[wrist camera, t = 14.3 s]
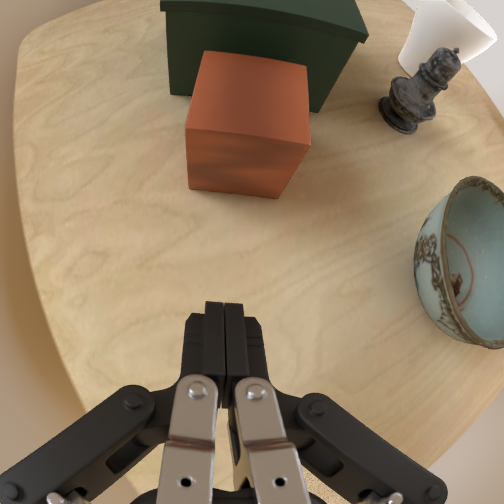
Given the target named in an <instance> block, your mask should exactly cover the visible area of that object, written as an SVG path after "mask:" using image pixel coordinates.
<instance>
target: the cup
mask: <svg viewBox="0 0 504 504" xmlns="http://www.w3.org/2000/svg"><path fill="white" fill-rule="evenodd" d="M496 41H497V36H496V34H495V32H494V30H493V29H492V28H491V26H490V25H489V24H488V23H487V22H486V21H485V20H484V19H483V18H482V16H481V15H480V14H479V13H478V12H477V11H475V10H474V9H473V8H472V7H471V6H470V5H469V4H468V3H466V2H465V1H464V0H420V2H419V5H418V7H417V10H416V12H415V15H414V19H413V23H412V26H411V30H410V33H409V35H408V38H407V41H406V43H405V45H404V47H403V49H402V51H401V52H400V54H399V56H398V61H399V63H400V65H401V67H402V68H403V69H404V70H405V72H406V73H407V74H409V75H410V76H411V77H413V76H414V75H415V74H416V72H417V71H418V70H419V64H420V63H426V62H427V60H428V59H429V58H430V57H431V56H432V54H433V53H434V52H435V51H436V50H437V49H438V48H440V47H444V48H448V49H450V50H454V48H459V53H457V56H458V58H459V60H460V62H461V64H462V63H464V62H466V61H468V60H470V59H472V58H473V57H475V56H477V55H478V54H480V53H481V52H483V51H485V50H486V49H487V48H489V47H490V46H491V45H492V44H493V43H494V42H496Z"/></svg>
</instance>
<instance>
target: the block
mask: <svg viewBox="0 0 504 504" xmlns="http://www.w3.org/2000/svg"><path fill="white" fill-rule="evenodd" d="M185 141H186V158H187V172H188V186H189V189H196V190H206V191H216V192H225V193H234V194H243V195H251V196H259V197H267V198H275V199H278V198H279V196H280V195H281V193H282V191H283V190H284V188H285V187H286V185H287V183H288V182H289V180H290V178H291V177H292V175H293V174H294V172H295V170H296V169H297V167H298V165H299V164H300V162H301V161H302V159H303V157H304V156H305V154H306V152H307V151H308V149H309V148H310V146H311V136H310V113H309V95H308V80H307V67H306V66H304V65H299V64H295V63H290V62H285V61H280V60H274V59H269V58H263V57H256V56H250V55H242V54H234V53H226V52H216V51H204V54H203V57H202V61H201V64H200V68H199V72H198V76H197V79H196V83H195V87H194V91H193V95H192V99H191V104H190V108H189V112H188V116H187V121H186V125H185Z"/></svg>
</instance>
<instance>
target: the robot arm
mask: <svg viewBox="0 0 504 504" xmlns="http://www.w3.org/2000/svg"><path fill="white" fill-rule="evenodd" d="M221 401H222V408H224V409H228V423H227V429H228V436H229V443H230V450H231V456H232V463H233V482H234V489H235V491H233V492H229V491H224V490H220V489H215V488H213V475H214V457H215V430H216V418H217V411H218V408H220V405H221ZM161 443H165V445H164V450H163V457H162V463H161V470H160V477H159V485H158V488H157V489H153V490H150V491H148V492H146V493H144V494H142V495H140V496H139V497H137V498H136V499H135V500H134V501H132V502H131V503H130V504H327V503H326V502H325V501H323V500H322V499H321V498H319V497H318V496H316V495H314V494H312V493H310V492H308V489H307V485H306V482H305V478H304V474H303V470H302V467H301V465H303V466H304V467H305V468H306V469H307V470H309V471H310V472H311V473H312V474H313V475H315V476H316V477H317V478H318V479H320V480H321V481H322V482H323V483H325V484H326V485H327V486H329V487H330V488H331V489H332V490H334V491H335V492H336V493H338V494H339V495H340V496H342V497H343V498H344V499H346V500H347V501H348V502H350V503H351V504H444V503H445V501H446V499H447V495H448V491H447V486H446V484H445V483H444V482H443V481H442V480H441V479H440V478H438V477H437V476H435V475H434V474H432V473H431V472H429V471H428V470H426V469H425V468H423V467H422V466H421V465H419V464H418V463H416V462H415V461H413V460H412V459H410V458H409V457H408V456H406V455H405V454H403V453H402V452H400V451H399V450H398V449H396V448H395V447H394V446H392V445H391V444H389V443H388V442H387V441H385V440H384V439H383V438H381V437H380V436H378V435H377V434H376V433H374V432H373V431H372V430H370V429H369V428H368V427H366V426H365V425H364V424H362V423H361V422H360V421H358V420H357V419H356V418H355V417H353V416H352V415H351V414H349V413H348V412H347V411H345V410H344V409H343V408H342V407H340V406H339V405H338V404H337V403H335V402H334V401H333V400H332V399H330V398H329V397H327V396H326V395H324V394H320V393H310V394H307V395H305V396H304V397H302V398H298V397H295V396H291V395H287V394H284V393H282V392H280V391H278V390H277V389H276V388H275V387H274V386H273V385H272V384H271V382H270V380H269V376H268V370H267V363H266V356H265V349H264V343H263V336H262V329H261V326H260V324H259V323H258V321H257V320H256V318H255V317H244V311H243V304H239V303H223V302H210V301H206V303H205V314H200V313H191V315H190V316H189V318H188V319H187V320H186V323H185V333H184V343H183V353H182V364H181V374H180V377H179V379H178V381H177V382H176V383H175V384H174V385H173V386H171V387H169V388H167V389H163V390H158V391H153V392H149V391H148V390H147V389H146V388H144V387H142V386H139V385H127V386H124V387H122V388H120V389H119V390H118V391H116V392H115V393H114V394H112V395H111V396H110V397H108V398H107V399H106V400H104V401H103V402H102V403H100V404H99V405H97V406H96V407H95V408H93V409H92V410H91V411H89V412H88V413H87V414H85V415H84V416H83V417H81V418H80V419H79V420H77V421H76V422H74V423H73V424H72V425H70V426H69V427H68V428H66V429H65V430H63V431H62V432H61V433H59V434H58V435H56V436H55V437H54V438H52V439H51V440H50V441H48V442H47V443H45V444H44V445H43V446H41V447H40V448H38V449H37V450H36V451H34V452H33V453H31V454H30V455H28V456H27V457H25V458H24V459H23V460H21V461H20V462H18V463H17V464H16V465H14V466H13V467H11V468H10V469H8V470H7V471H5V472H4V473H2V474H1V475H0V503H1V504H91V503H90V502H91V501H92V500H93V499H95V498H96V497H97V496H98V495H100V494H101V493H102V492H103V491H105V490H106V489H107V488H108V487H110V486H111V485H112V484H113V483H115V482H116V481H117V480H118V479H119V478H121V477H122V476H123V475H124V474H125V473H127V472H128V471H129V470H130V469H131V468H132V467H134V466H135V465H136V464H137V463H138V462H139V461H141V460H142V459H143V458H144V457H145V456H146V455H147V454H149V453H150V452H151V451H152V450H153V449H154V448H155V447H156V446H157V445H158V444H161Z"/></svg>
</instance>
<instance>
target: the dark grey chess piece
mask: <svg viewBox="0 0 504 504" xmlns="http://www.w3.org/2000/svg"><path fill="white" fill-rule="evenodd" d="M457 53H459V48H454V50H450V49H448V48H444V47H440V48H438V49H437V50H436V51H435V52H434V53H433V54H432V56H431V57H430V58H429V59H428V60H427V62H426V63H420V64H419V70H418V71H417V72H416V74H415V75H414V76H413V77H412V78H411V79H408V78H406V77H395V78H393V80H392V81H391V88H390V91H389V96H386V97H383V98H381V99H380V101H379V110H380V113H381V115H382V117H383V118H384V119H385V121H386V122H387V123H388V124H389V125H390V126H391V127H393V128H394V129H395V130H397V131H399V132H401V133H404V134H412V133H414V132H415V131H416V130H417V123H420V122H424V121H426V120H431V119H433V118H434V117H435V115H436V108H435V105H434V102H433V99H434V97H435V96H436V95H437V94H438V93H439V92H440V91H441V90H446V89H447V88H448V85H447V83H448V82H449V81H450V80H451V79H452V77H453V76H454V75H455V74H456V73H457V72H458V71H459V70H460V68H461V62H460V60H459V58H458V56H457Z"/></svg>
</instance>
